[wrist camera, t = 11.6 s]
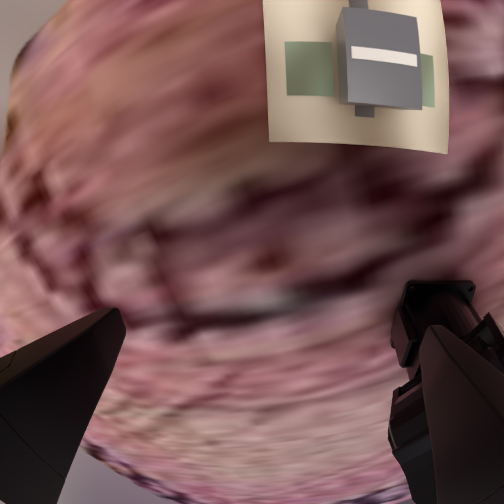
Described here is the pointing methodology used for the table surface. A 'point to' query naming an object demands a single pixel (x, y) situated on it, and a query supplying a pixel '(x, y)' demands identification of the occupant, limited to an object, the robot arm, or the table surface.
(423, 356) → the robot arm
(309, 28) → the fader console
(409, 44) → the fader knob
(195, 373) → the table surface
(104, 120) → the table surface
